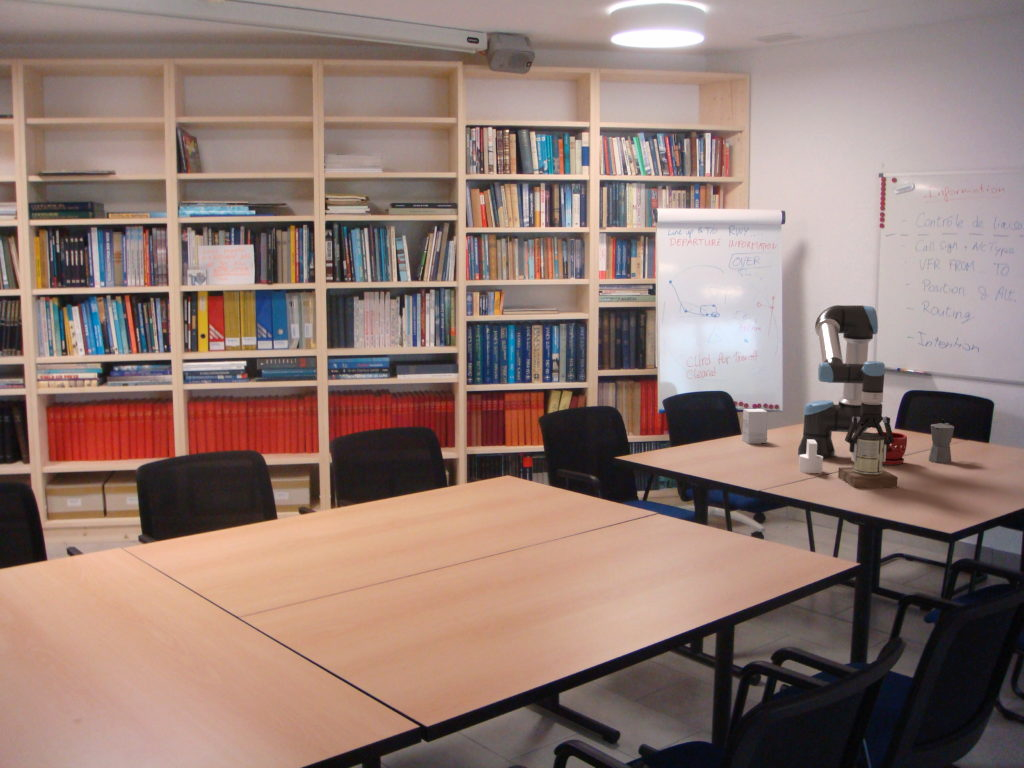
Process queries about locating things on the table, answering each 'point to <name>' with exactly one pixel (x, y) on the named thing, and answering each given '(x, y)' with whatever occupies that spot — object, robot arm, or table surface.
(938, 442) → the coffeepot
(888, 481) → the walnut plinth
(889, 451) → the plant pot
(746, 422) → the supplement box
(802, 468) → the base with upright slab
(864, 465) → the coffee can
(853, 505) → the table surface
